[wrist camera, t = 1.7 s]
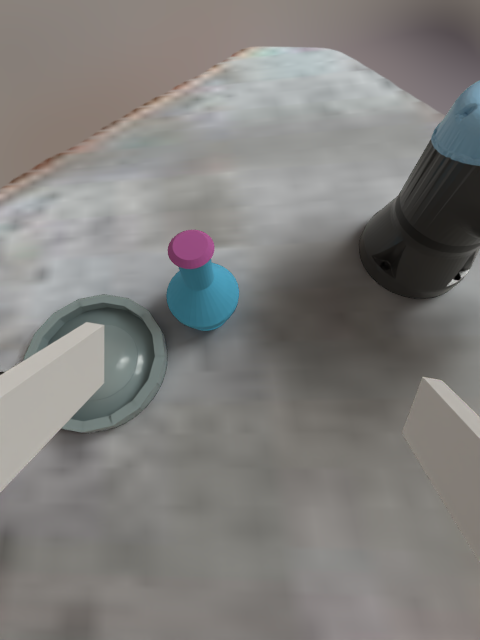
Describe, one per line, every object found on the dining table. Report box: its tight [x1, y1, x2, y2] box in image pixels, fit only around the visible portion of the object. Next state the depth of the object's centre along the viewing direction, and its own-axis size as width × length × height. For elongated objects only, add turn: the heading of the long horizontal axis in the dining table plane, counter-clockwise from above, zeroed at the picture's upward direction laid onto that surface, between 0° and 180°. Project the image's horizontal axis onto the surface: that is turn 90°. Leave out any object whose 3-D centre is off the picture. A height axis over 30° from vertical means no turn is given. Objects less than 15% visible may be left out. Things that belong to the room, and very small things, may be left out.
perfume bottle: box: [166, 230, 239, 331], centre depth 39 cm, size 9×9×15 cm
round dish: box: [23, 294, 168, 433], centre depth 42 cm, size 17×17×2 cm
